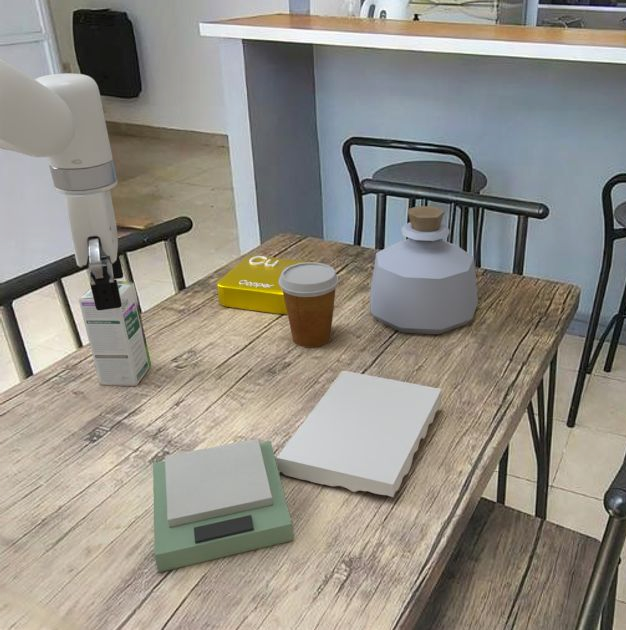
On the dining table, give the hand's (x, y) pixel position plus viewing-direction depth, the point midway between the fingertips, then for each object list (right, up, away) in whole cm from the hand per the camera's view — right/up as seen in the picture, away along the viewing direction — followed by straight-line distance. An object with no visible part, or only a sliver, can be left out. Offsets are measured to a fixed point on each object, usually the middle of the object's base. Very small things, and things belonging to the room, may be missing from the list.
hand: (110, 292), depth 97 cm
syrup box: (-1, -13, +6) cm, 14 cm away
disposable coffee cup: (+26, -7, +18) cm, 32 cm away
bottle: (+44, -3, +27) cm, 52 cm away
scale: (+21, -26, -18) cm, 38 cm away
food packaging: (+37, -20, -6) cm, 42 cm away
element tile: (+16, +1, +32) cm, 36 cm away
